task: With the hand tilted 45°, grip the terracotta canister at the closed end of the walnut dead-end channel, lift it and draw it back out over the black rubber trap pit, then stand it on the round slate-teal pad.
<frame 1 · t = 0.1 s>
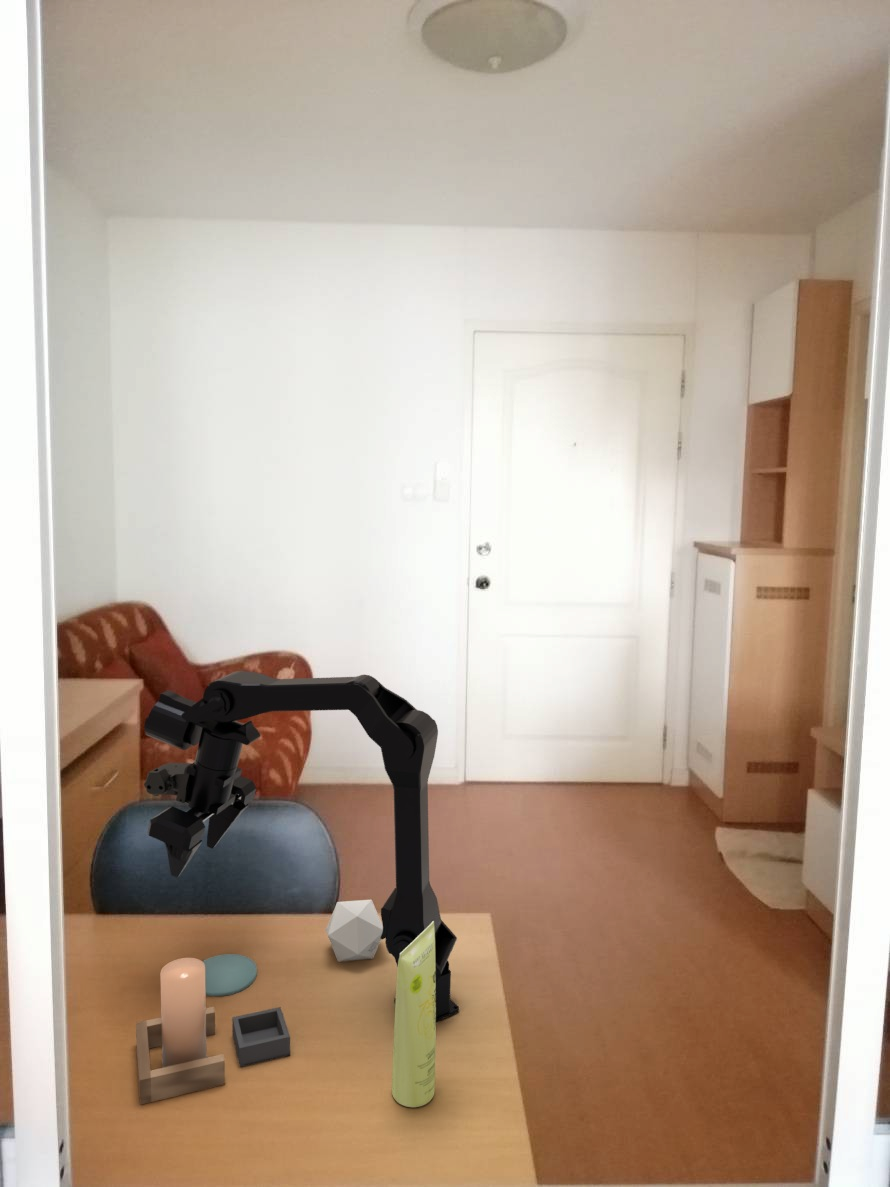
hand: (193, 861, 117), 15 cm above the table, tool pointing down, fingers open, 9 cm apart
tube: (412, 1095, 96), on the table
trap pit: (260, 1045, 103), on the table
channel: (184, 1062, 99), on the table
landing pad: (223, 976, 116), on the table
die: (354, 955, 123), on the table
canister: (183, 1016, 99), in the channel
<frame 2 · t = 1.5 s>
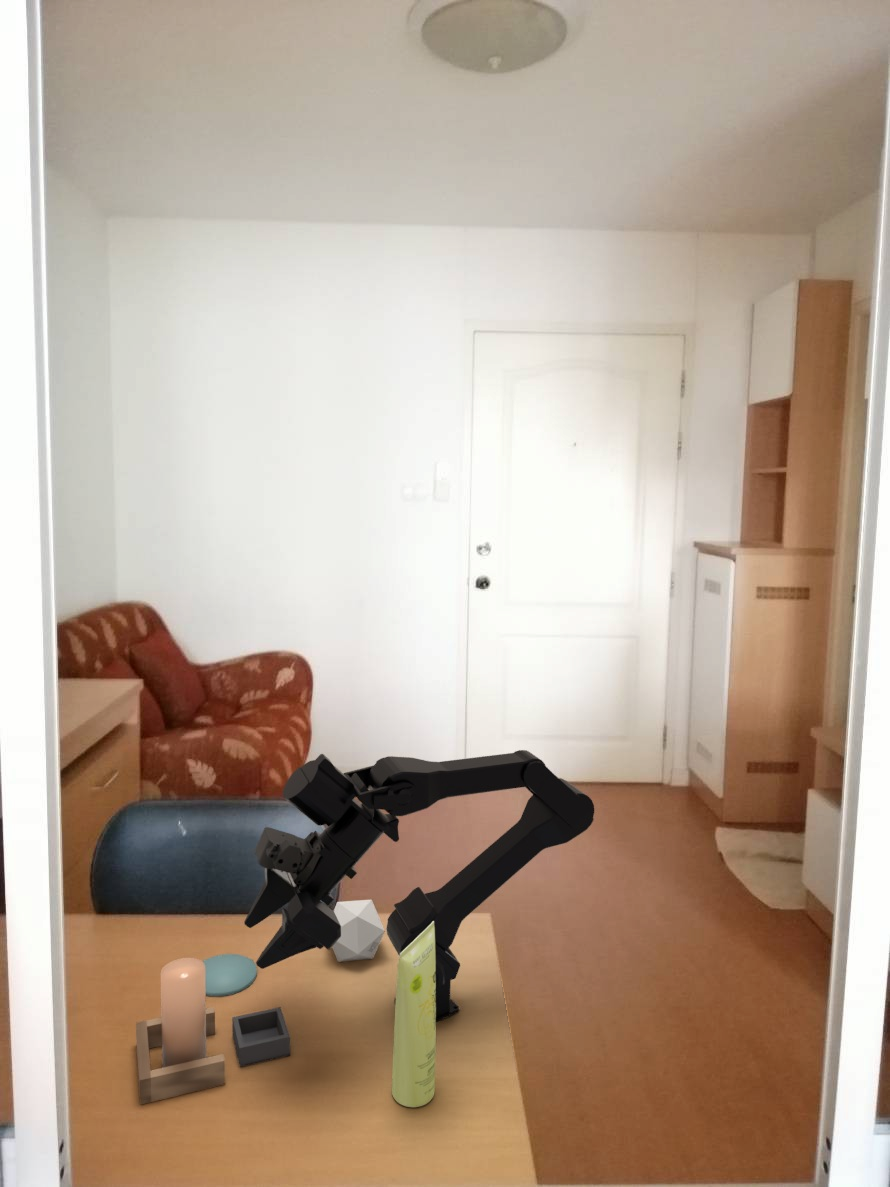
hand: (252, 945, 101), 13 cm above the table, tool tilted 45°, fingers open, 9 cm apart
nothing on the table moved.
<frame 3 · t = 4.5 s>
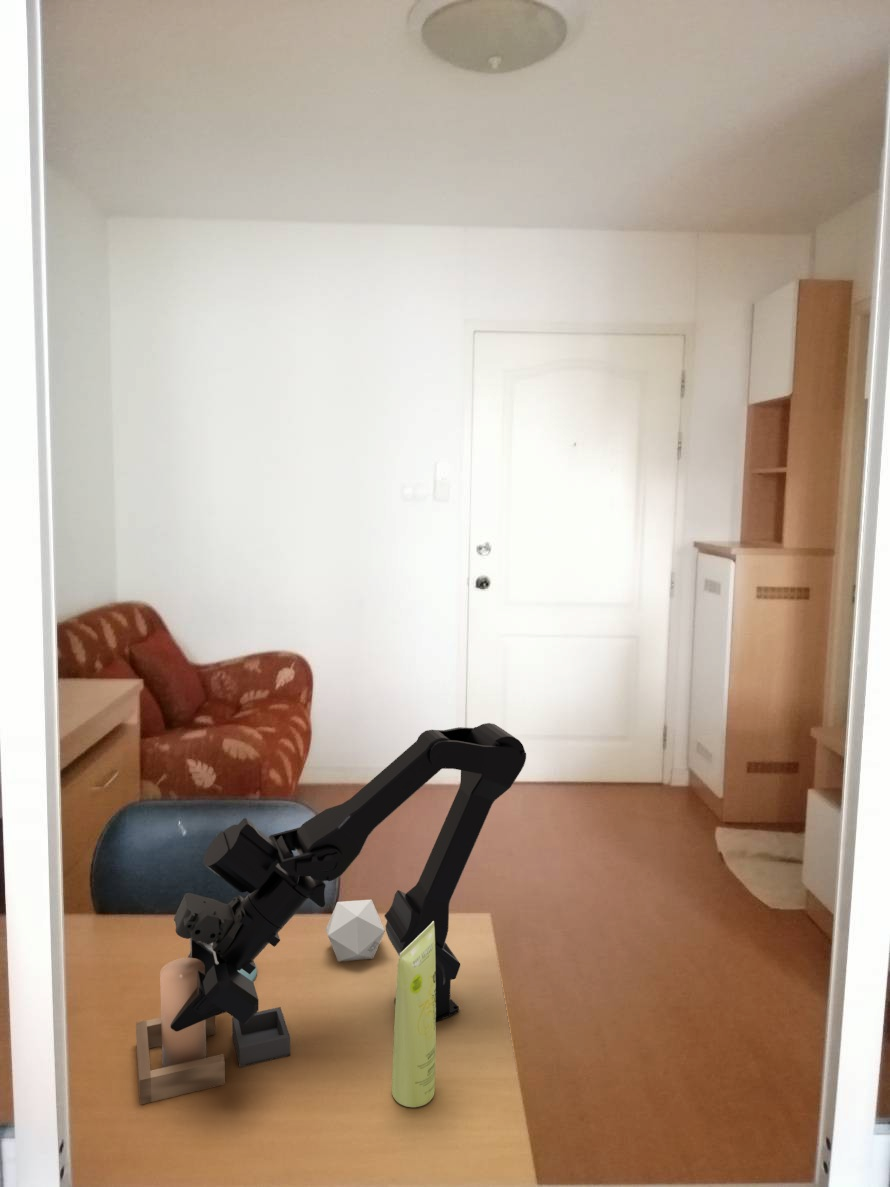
hand: (171, 1014, 98), 7 cm above the table, tool tilted 45°, fingers closed on canister, 5 cm apart
canister: (183, 1016, 99), in the channel, touching gripper
everything else where it was.
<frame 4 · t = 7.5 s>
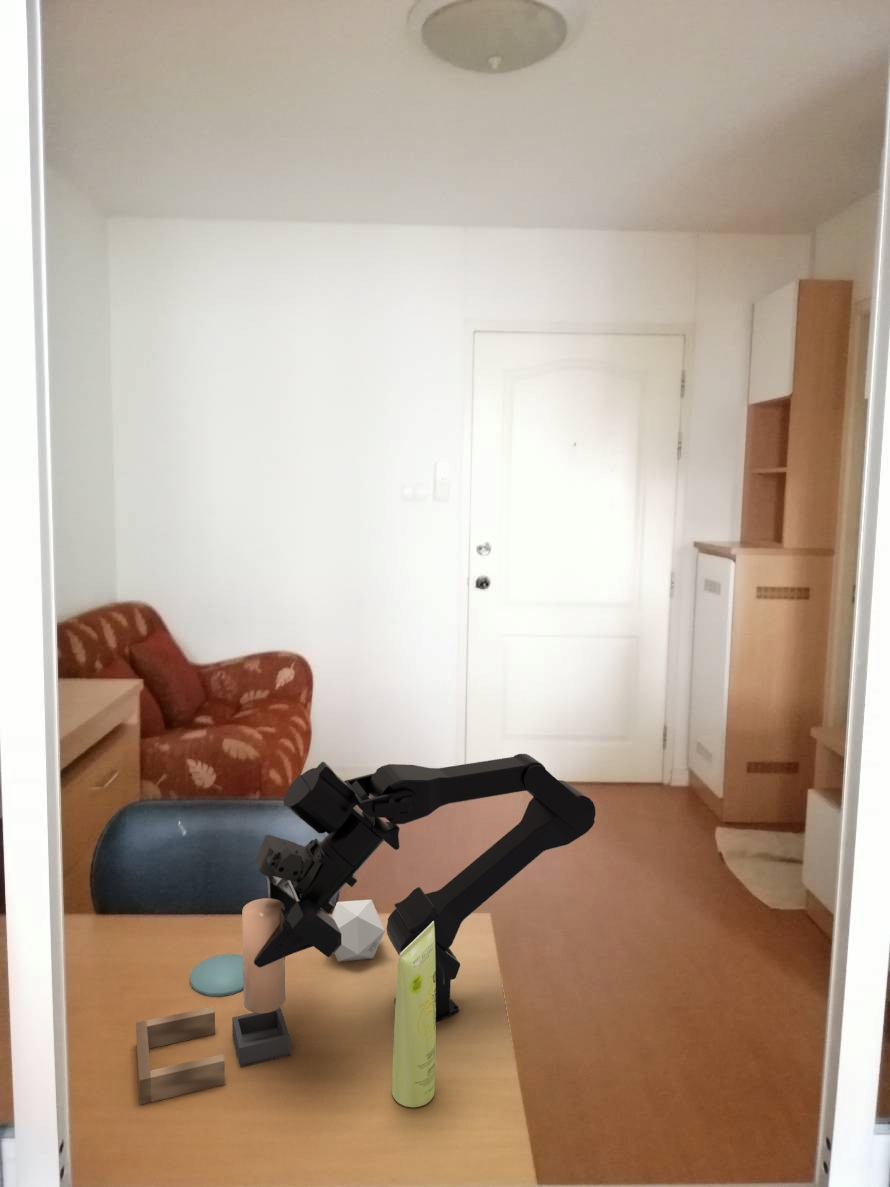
hand: (252, 952, 101), 12 cm above the table, tool tilted 45°, fingers closed on canister, 5 cm apart
canister: (264, 954, 101), point 12 cm above the table, touching gripper
everything else where it was.
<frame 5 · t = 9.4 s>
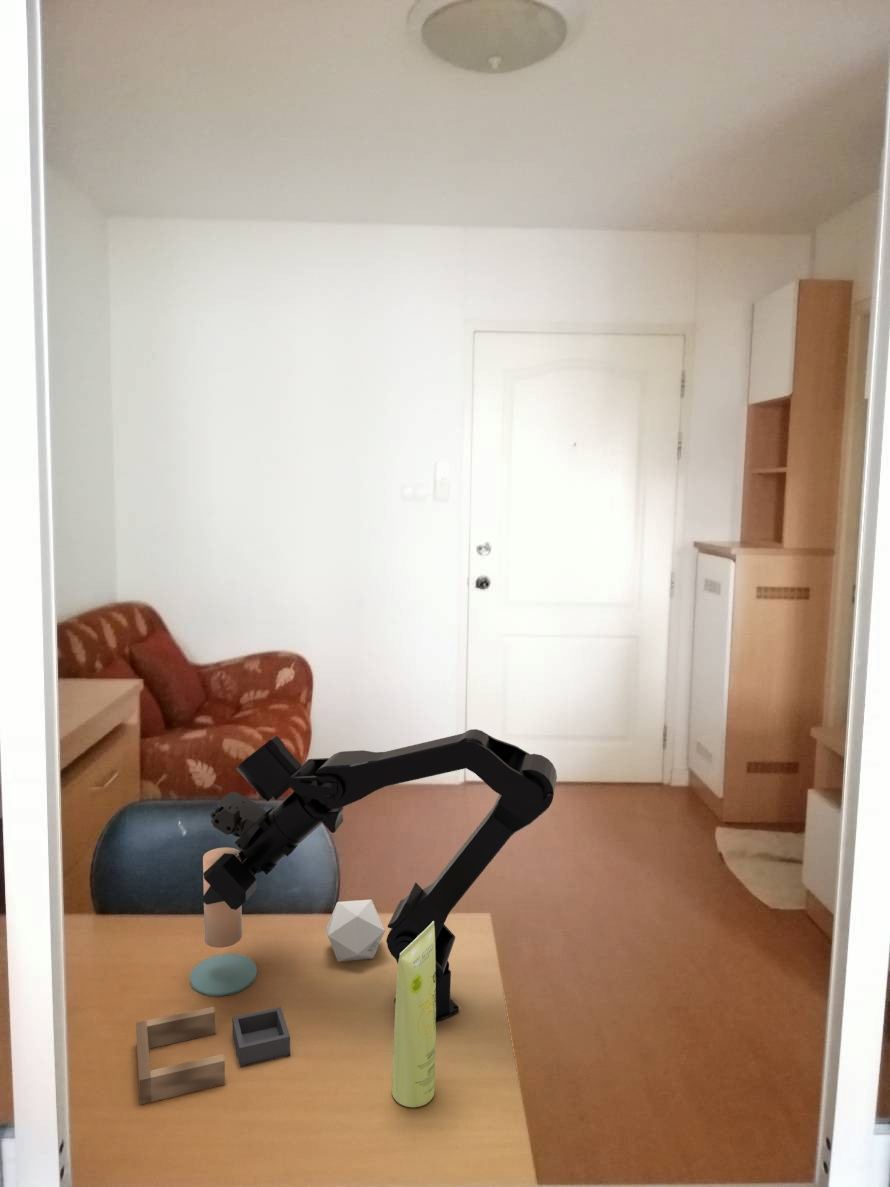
hand: (213, 891, 115), 13 cm above the table, tool tilted 45°, fingers closed on canister, 5 cm apart
canister: (222, 896, 115), point 12 cm above the table, touching gripper
everything else where it was.
when the fingers open (8 cm above the table, at t = 10.8 s): canister stays where it is, resting on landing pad.
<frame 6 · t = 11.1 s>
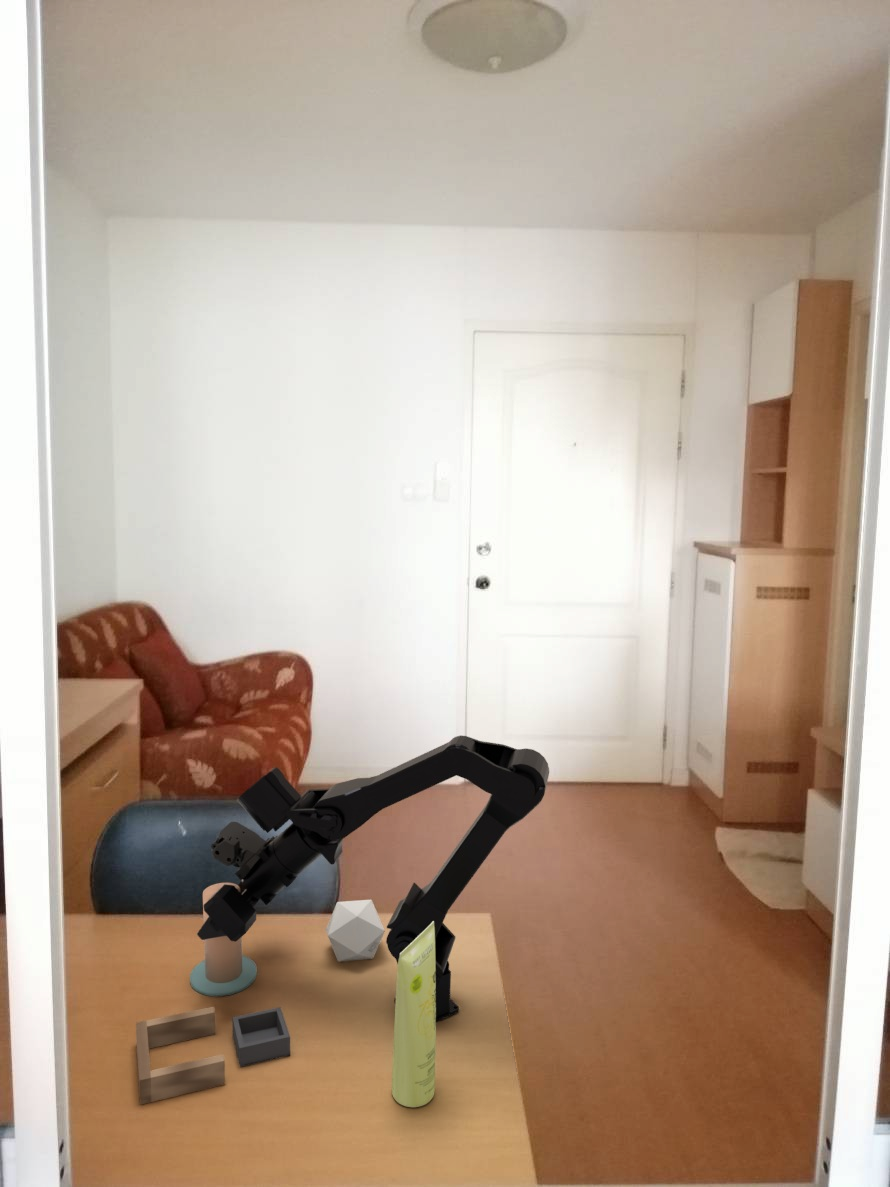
hand: (213, 920, 116), 8 cm above the table, tool tilted 45°, fingers open, 8 cm apart
canister: (222, 932, 115), on the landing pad, point 7 cm above the table
everything else where it was.
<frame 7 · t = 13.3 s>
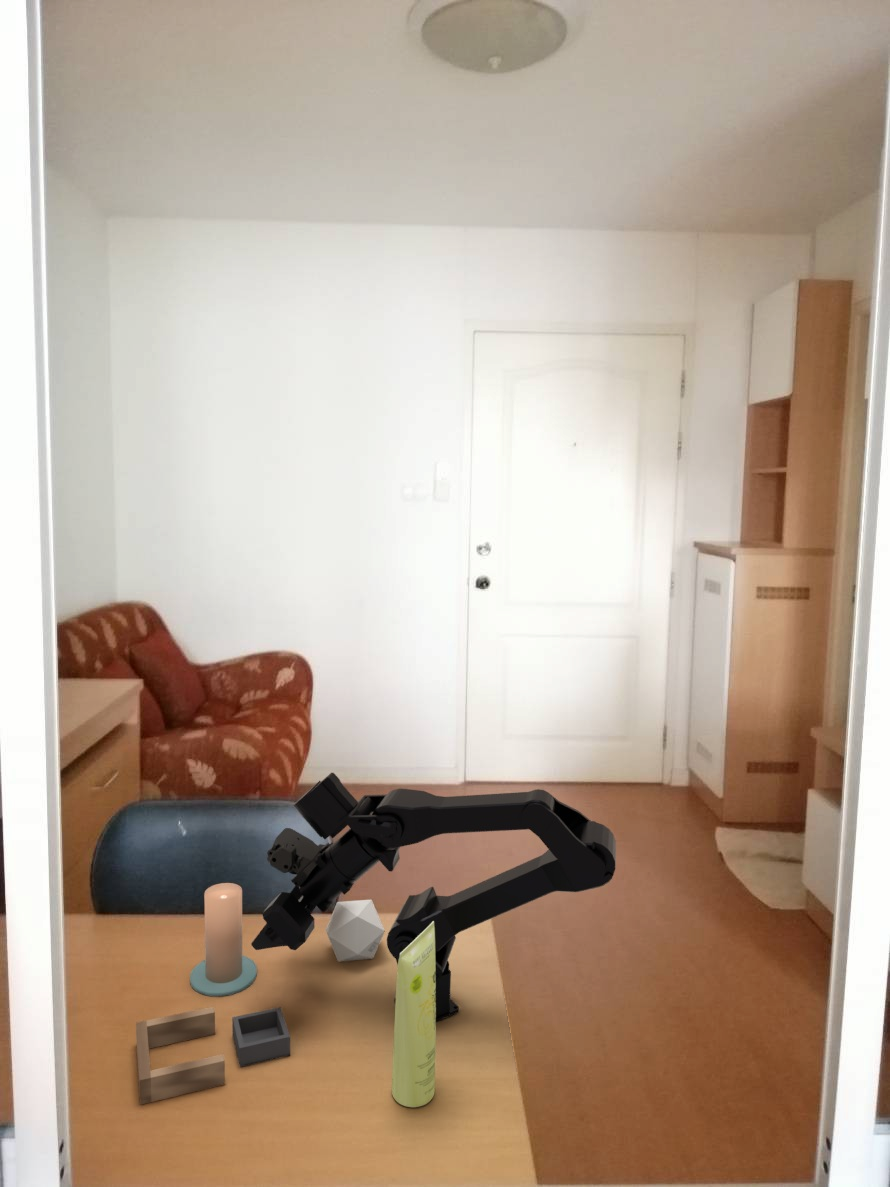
hand: (267, 928, 114), 8 cm above the table, tool tilted 45°, fingers open, 9 cm apart
nothing on the table moved.
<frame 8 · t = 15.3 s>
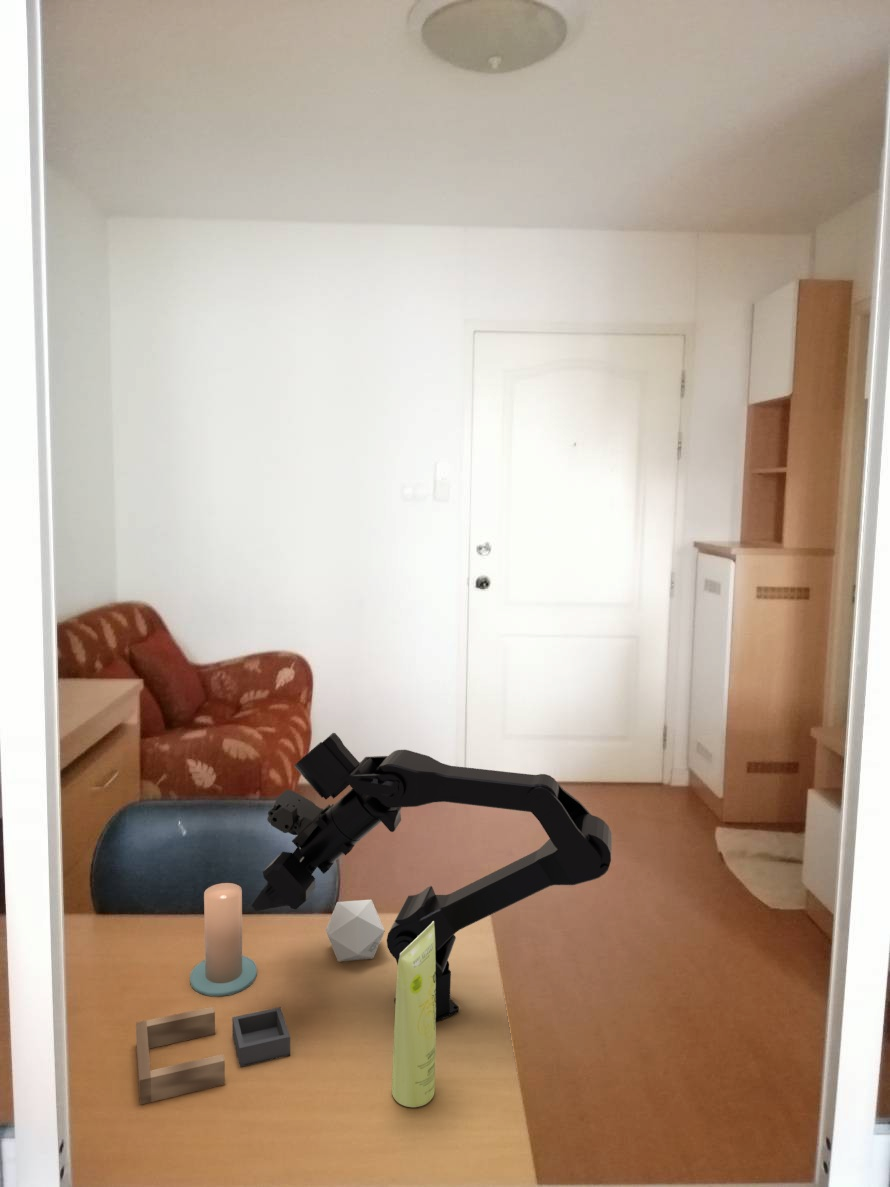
hand: (267, 890, 113), 14 cm above the table, tool tilted 45°, fingers open, 9 cm apart
nothing on the table moved.
at the end: canister 0.0 cm off-centre on the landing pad, point 6.6 cm above the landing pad's base; canister tilted 0°; canister touching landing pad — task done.
